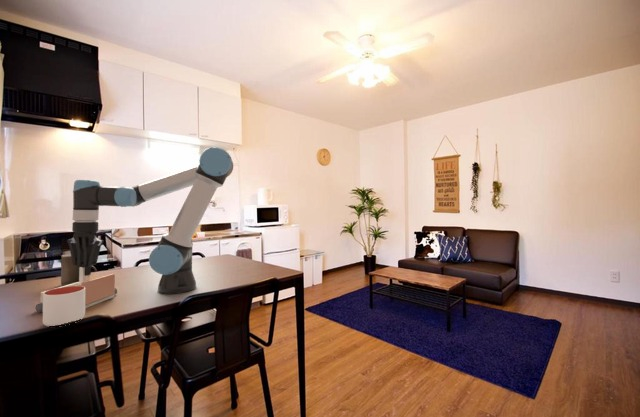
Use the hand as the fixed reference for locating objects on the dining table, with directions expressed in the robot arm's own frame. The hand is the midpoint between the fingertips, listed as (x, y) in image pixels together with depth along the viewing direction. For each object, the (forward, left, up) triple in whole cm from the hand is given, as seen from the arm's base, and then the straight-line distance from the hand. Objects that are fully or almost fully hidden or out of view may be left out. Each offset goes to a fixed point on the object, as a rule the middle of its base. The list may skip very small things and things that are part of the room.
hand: (84, 283), depth 107 cm
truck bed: (+2, 0, -7) cm, 7 cm away
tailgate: (-6, 0, -6) cm, 8 cm away
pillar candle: (+27, -22, -8) cm, 35 cm away
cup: (-9, +16, -8) cm, 20 cm away
